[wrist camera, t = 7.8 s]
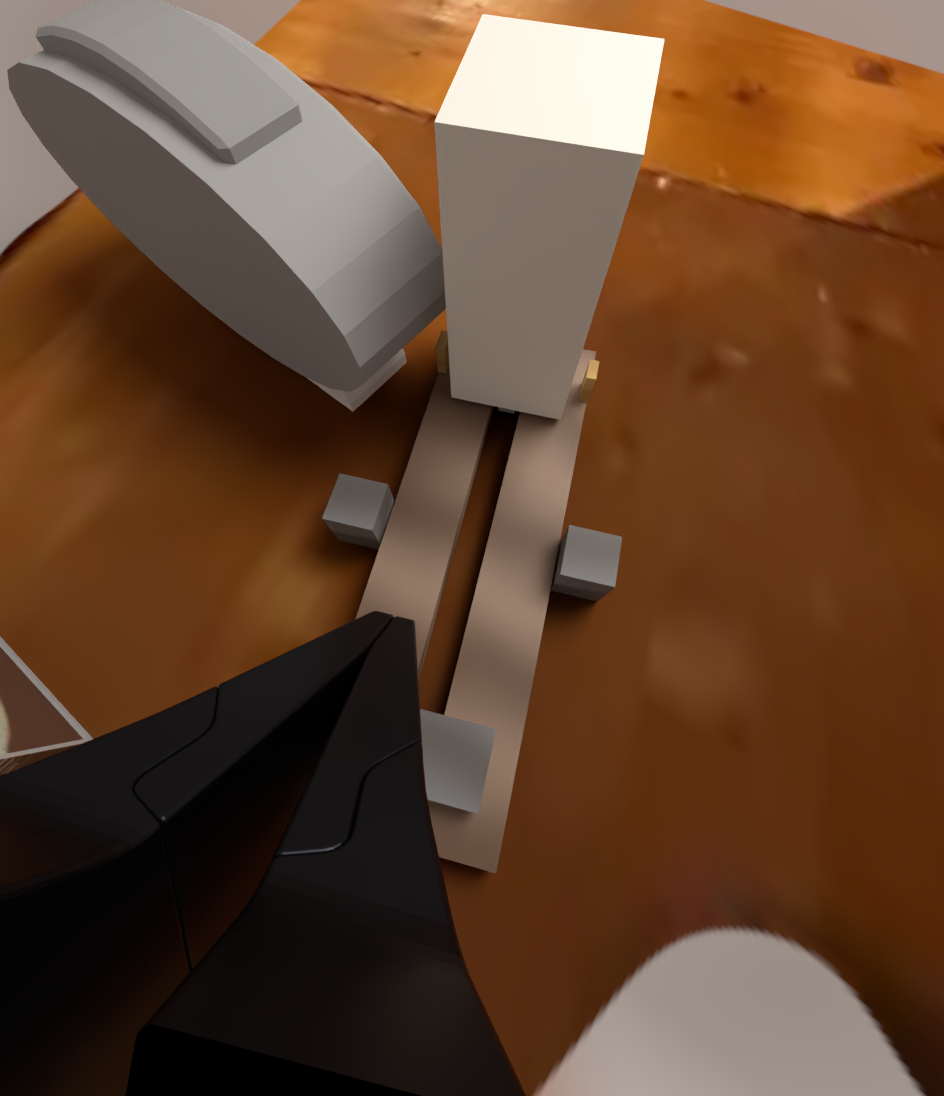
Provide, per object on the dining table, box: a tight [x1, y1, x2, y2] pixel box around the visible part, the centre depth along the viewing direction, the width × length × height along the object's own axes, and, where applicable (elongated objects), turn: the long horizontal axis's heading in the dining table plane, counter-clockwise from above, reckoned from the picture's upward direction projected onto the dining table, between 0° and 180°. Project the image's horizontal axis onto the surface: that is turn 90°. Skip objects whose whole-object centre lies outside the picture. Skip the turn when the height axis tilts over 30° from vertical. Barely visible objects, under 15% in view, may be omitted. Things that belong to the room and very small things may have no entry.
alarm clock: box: [8, 0, 446, 412], centre depth 22 cm, size 23×6×13 cm, turn 51°
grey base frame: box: [322, 331, 622, 873], centre depth 21 cm, size 26×13×3 cm, turn 166°
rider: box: [435, 14, 664, 420], centre depth 20 cm, size 6×6×13 cm
